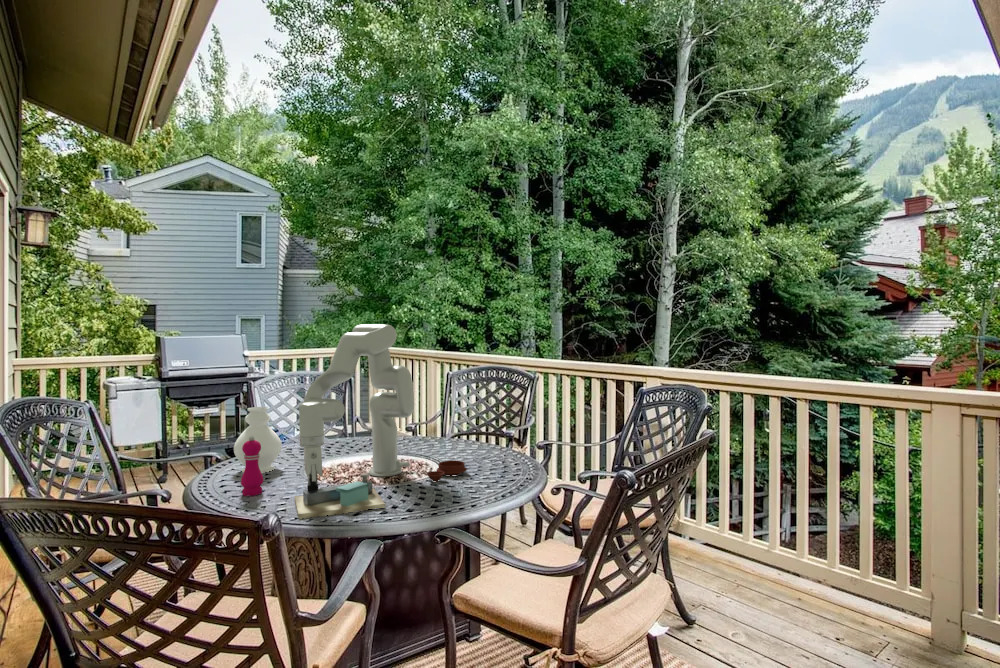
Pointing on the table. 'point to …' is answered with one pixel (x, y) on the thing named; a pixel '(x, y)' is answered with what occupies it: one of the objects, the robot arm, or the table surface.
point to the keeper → (353, 493)
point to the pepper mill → (251, 468)
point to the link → (327, 494)
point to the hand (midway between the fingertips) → (312, 496)
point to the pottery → (447, 469)
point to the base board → (337, 505)
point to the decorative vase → (259, 439)
